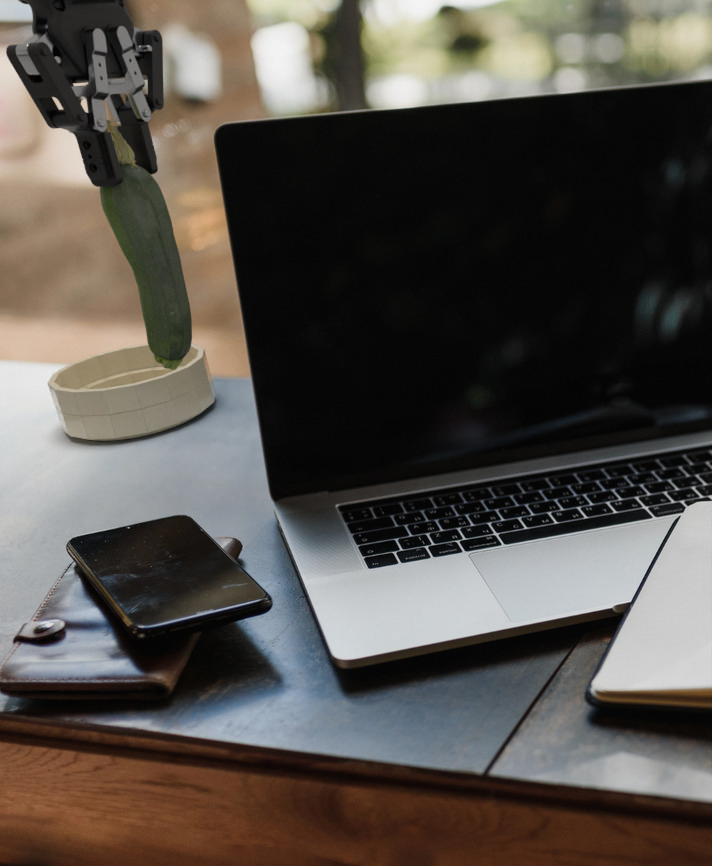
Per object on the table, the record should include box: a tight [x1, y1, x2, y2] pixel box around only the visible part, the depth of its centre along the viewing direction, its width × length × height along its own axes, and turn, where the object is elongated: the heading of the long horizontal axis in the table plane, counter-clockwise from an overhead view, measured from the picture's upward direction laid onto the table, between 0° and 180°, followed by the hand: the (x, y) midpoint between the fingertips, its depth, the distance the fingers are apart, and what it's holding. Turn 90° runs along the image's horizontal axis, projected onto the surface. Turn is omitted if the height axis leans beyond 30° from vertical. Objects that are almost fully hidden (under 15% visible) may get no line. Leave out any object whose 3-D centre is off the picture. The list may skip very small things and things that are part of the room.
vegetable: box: [99, 119, 193, 370], centre depth 82 cm, size 4×4×20 cm
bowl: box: [47, 342, 217, 442], centre depth 108 cm, size 14×14×6 cm
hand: (126, 178), depth 80 cm, fingers closed on vegetable, 3 cm apart
